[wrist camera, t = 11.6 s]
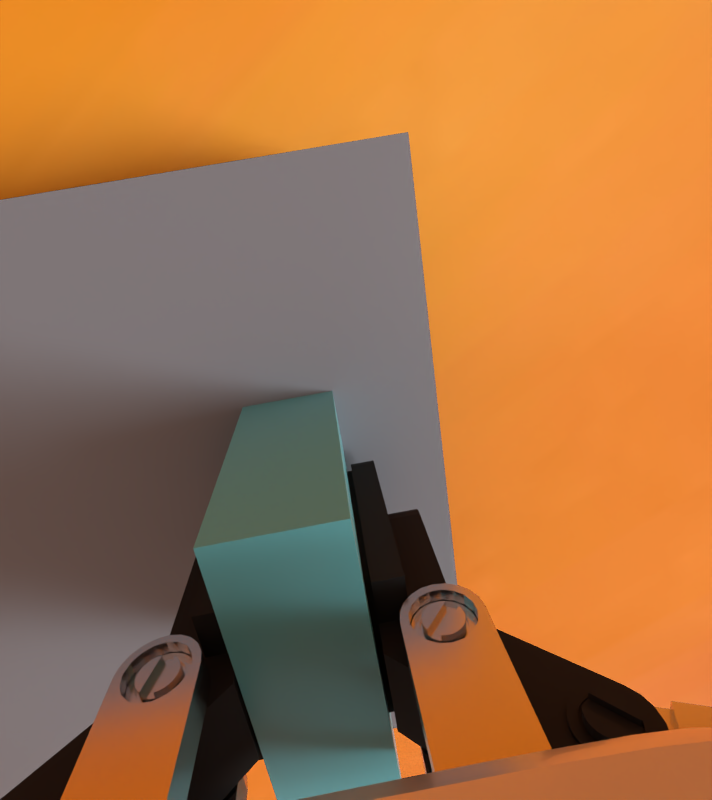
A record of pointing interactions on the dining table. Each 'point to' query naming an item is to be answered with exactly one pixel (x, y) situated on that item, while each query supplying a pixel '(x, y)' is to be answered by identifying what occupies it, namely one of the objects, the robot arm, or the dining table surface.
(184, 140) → the dining table surface
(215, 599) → the lid
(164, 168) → the dining table surface
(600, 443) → the dining table surface
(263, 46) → the dining table surface
